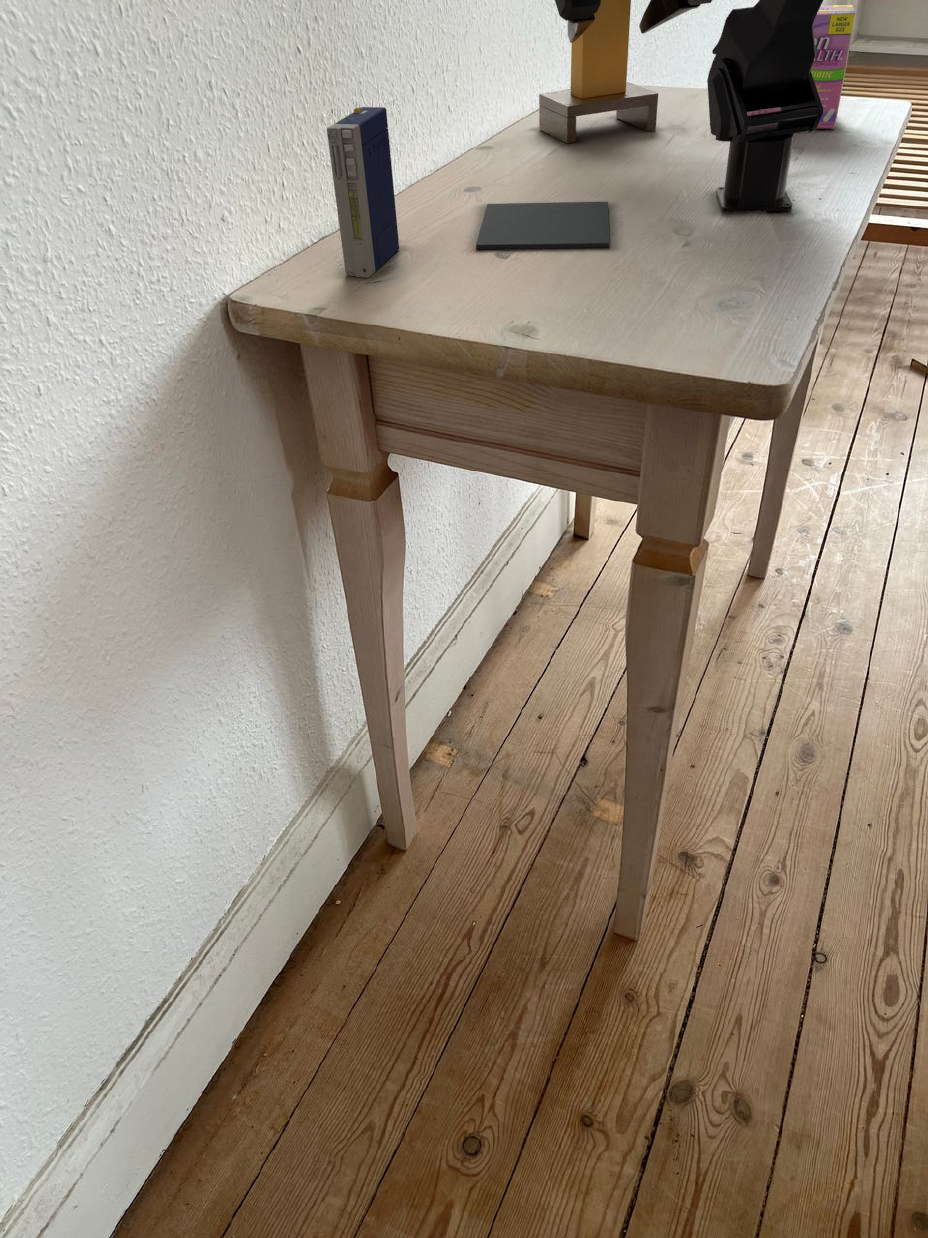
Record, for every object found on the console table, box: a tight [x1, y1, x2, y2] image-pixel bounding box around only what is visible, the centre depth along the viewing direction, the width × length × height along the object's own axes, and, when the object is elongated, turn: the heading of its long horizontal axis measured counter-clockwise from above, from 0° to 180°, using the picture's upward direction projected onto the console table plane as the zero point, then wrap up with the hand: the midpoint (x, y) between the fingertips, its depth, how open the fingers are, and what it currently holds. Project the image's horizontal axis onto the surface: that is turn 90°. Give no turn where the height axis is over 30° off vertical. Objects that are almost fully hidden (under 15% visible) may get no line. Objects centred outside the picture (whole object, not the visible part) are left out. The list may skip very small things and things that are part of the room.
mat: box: [475, 201, 610, 250], centre depth 89 cm, size 12×12×1 cm
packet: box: [570, 0, 632, 99], centre depth 110 cm, size 3×6×10 cm, turn 111°
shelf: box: [538, 81, 659, 144], centre depth 114 cm, size 8×12×4 cm, turn 111°
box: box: [747, 4, 856, 130], centre depth 109 cm, size 10×6×12 cm, turn 76°
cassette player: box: [326, 106, 400, 279], centre depth 80 cm, size 7×2×12 cm, turn 162°
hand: (606, 34), depth 108 cm, fingers open, 9 cm apart
